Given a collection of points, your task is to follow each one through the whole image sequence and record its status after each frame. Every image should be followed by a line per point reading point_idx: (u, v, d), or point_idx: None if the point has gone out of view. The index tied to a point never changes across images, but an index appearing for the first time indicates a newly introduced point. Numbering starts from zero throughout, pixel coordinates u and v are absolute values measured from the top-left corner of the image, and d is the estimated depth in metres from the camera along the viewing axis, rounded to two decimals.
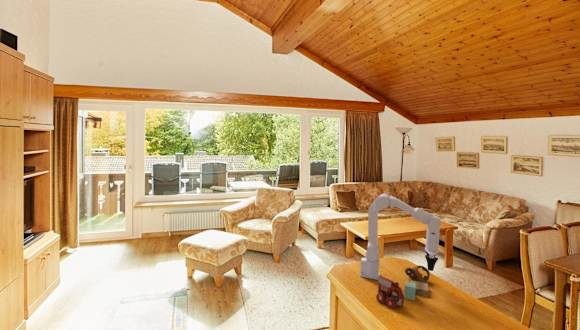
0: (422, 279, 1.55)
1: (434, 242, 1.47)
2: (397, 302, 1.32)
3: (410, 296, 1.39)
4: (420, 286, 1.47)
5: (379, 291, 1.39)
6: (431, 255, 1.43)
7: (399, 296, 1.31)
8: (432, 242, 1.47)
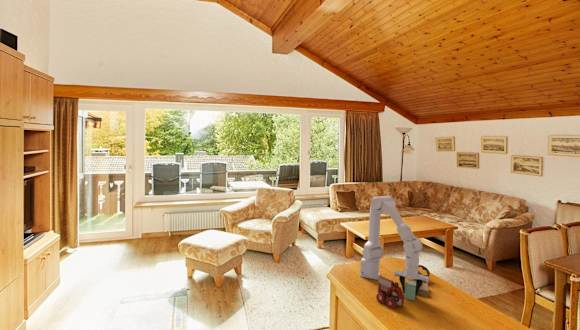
0: None
1: (405, 264, 1.40)
2: (397, 302, 1.32)
3: (410, 296, 1.39)
4: None
5: (379, 291, 1.39)
6: (394, 272, 1.43)
7: (399, 296, 1.31)
8: (405, 264, 1.41)
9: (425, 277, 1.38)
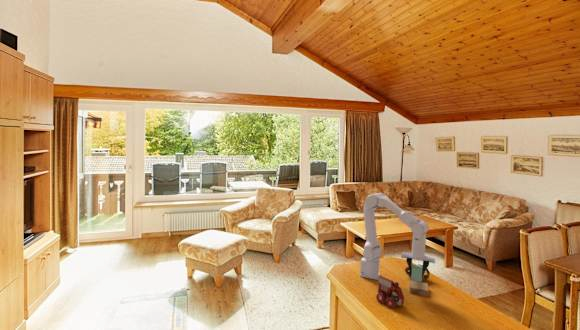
0: (422, 278, 1.56)
1: (412, 246, 1.44)
2: (397, 302, 1.32)
3: (417, 278, 1.42)
4: (420, 286, 1.47)
5: (379, 291, 1.39)
6: (401, 254, 1.47)
7: (399, 296, 1.31)
8: (412, 246, 1.44)
9: (432, 258, 1.41)
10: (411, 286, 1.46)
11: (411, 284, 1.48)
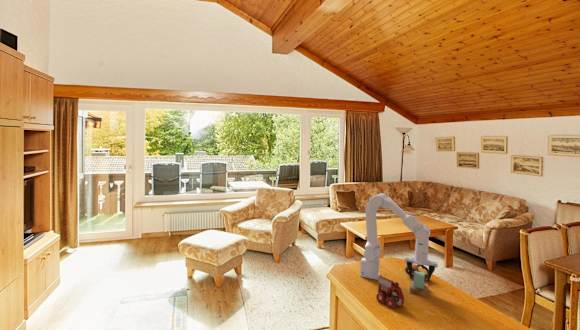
0: None
1: (415, 251, 1.46)
2: (397, 302, 1.32)
3: (419, 285, 1.45)
4: None
5: (379, 291, 1.39)
6: None
7: (399, 296, 1.31)
8: (415, 250, 1.47)
9: (434, 263, 1.44)
10: (411, 286, 1.46)
11: (411, 284, 1.48)
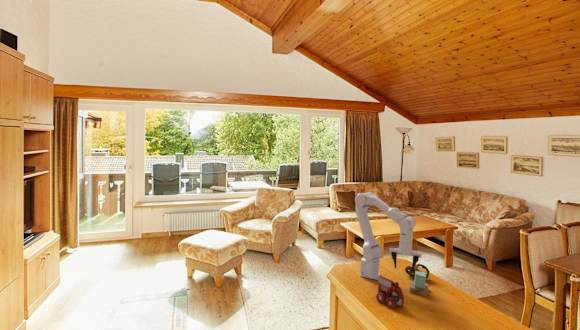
0: None
1: None
2: (397, 302, 1.32)
3: (420, 284, 1.45)
4: None
5: (379, 291, 1.39)
6: (389, 249, 1.50)
7: (399, 296, 1.31)
8: None
9: (418, 253, 1.45)
10: (411, 286, 1.47)
11: (411, 284, 1.48)
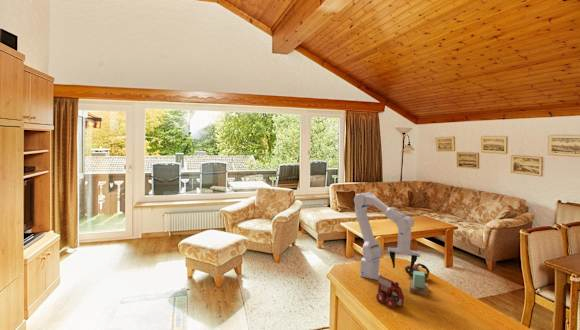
0: None
1: (398, 241, 1.47)
2: (397, 302, 1.32)
3: (420, 284, 1.45)
4: None
5: (379, 291, 1.39)
6: None
7: (399, 296, 1.31)
8: None
9: (417, 252, 1.45)
10: (411, 286, 1.47)
11: (411, 284, 1.48)
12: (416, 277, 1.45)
